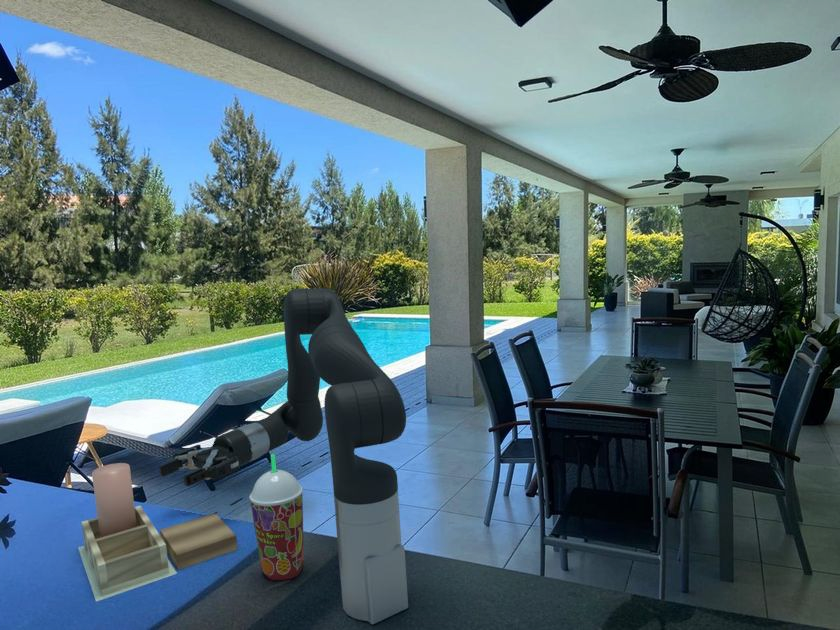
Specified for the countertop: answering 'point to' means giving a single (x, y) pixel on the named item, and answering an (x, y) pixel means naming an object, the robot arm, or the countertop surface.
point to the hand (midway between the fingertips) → (172, 476)
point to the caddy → (125, 554)
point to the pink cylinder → (114, 498)
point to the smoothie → (278, 523)
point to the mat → (99, 596)
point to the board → (198, 540)
